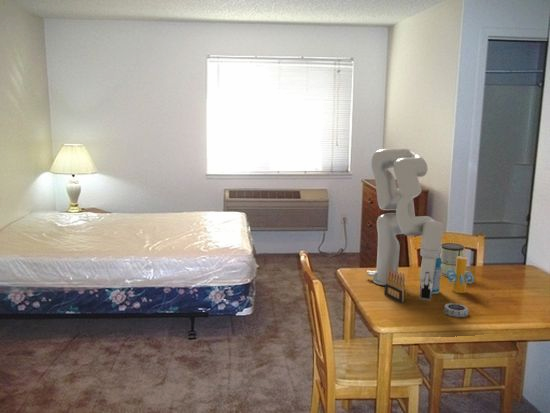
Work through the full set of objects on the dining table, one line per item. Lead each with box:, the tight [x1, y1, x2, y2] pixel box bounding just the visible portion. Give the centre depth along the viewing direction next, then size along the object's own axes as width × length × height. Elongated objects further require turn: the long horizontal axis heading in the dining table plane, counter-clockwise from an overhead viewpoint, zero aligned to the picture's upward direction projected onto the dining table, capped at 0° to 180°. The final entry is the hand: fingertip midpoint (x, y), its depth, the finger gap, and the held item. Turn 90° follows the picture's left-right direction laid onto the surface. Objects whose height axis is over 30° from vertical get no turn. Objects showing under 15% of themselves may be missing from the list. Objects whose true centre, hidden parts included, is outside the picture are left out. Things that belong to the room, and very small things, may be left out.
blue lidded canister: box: [419, 251, 442, 295], centre depth 218 cm, size 8×8×20 cm
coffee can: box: [440, 242, 465, 278], centre depth 243 cm, size 10×10×14 cm
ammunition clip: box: [384, 268, 406, 304], centre depth 209 cm, size 11×2×12 cm, turn 26°
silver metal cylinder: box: [419, 279, 434, 302], centre depth 204 cm, size 5×5×8 cm
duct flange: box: [443, 302, 469, 319], centre depth 196 cm, size 9×9×2 cm
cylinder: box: [446, 256, 475, 294], centre depth 219 cm, size 12×10×15 cm
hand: (425, 295), depth 205 cm, fingers closed on silver metal cylinder, 4 cm apart
